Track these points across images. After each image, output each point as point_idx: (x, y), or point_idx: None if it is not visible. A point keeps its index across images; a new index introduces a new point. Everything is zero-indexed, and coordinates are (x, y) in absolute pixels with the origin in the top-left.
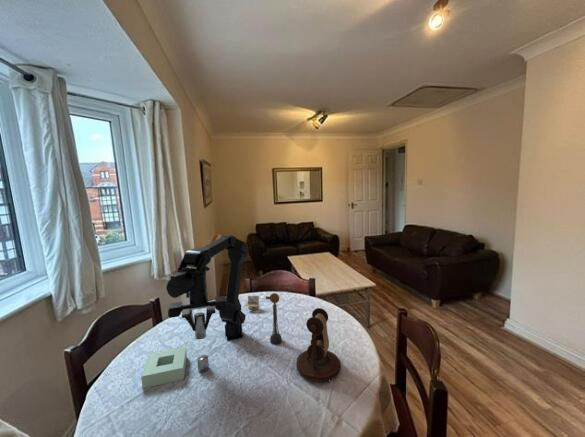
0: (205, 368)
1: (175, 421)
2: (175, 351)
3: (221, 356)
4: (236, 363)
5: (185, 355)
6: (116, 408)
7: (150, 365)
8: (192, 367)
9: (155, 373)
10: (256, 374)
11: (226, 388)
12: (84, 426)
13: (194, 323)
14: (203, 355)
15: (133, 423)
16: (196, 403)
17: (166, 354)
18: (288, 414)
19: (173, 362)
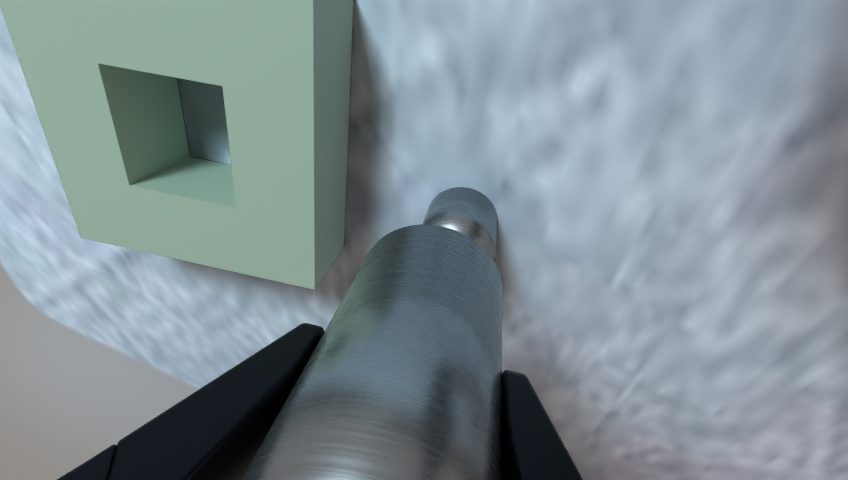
0: None
1: None
2: (218, 32)
3: (626, 143)
4: (681, 278)
5: (325, 98)
6: (91, 270)
7: (82, 147)
8: (394, 164)
9: (155, 253)
10: (721, 409)
11: None
12: (29, 296)
13: (260, 405)
14: (463, 232)
15: (192, 365)
16: None
17: (148, 45)
18: None
19: (239, 200)
